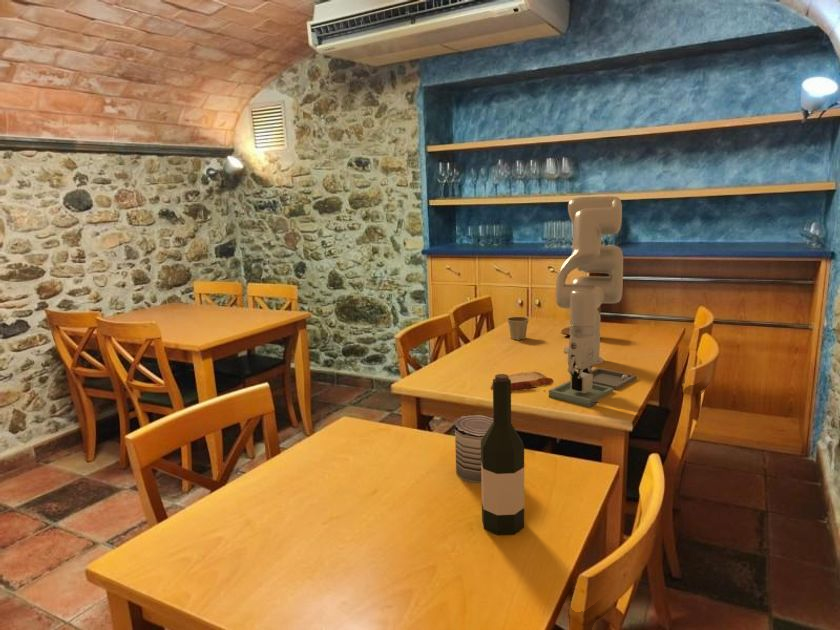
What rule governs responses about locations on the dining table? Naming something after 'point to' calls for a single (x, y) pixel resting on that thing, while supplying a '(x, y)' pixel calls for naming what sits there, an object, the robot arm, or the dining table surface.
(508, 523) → the wine bottle
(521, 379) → the bread slice
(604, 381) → the bin
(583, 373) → the beige block
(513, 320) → the flower pot
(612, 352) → the dining table surface
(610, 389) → the bin
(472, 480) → the can
